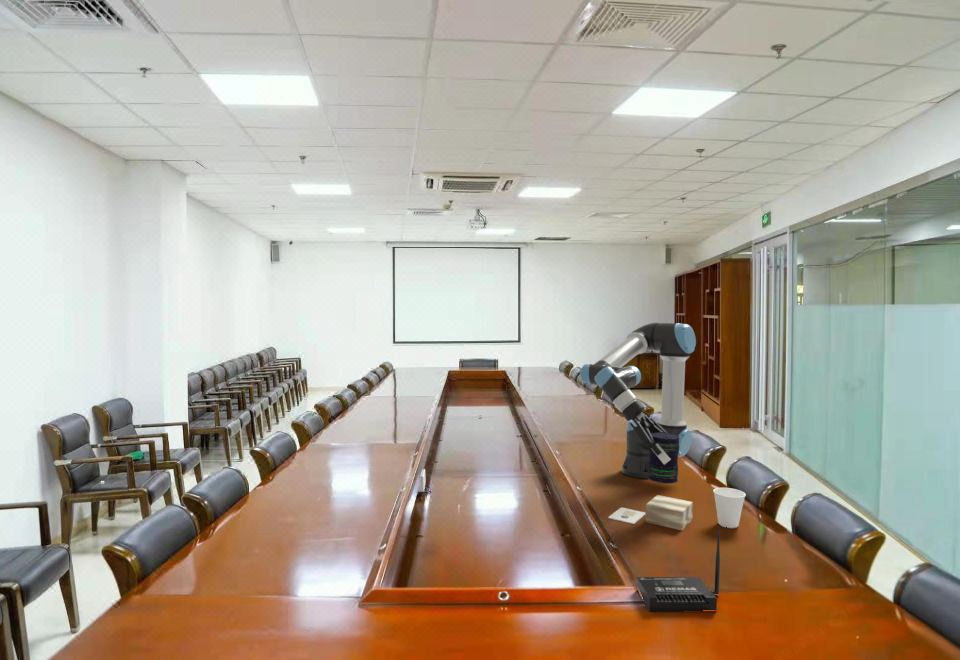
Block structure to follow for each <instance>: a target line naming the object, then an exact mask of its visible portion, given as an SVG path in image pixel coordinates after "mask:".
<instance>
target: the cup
mask: <svg viewBox="0 0 960 660" xmlns="http://www.w3.org/2000/svg"><path fill="white" fill-rule="evenodd" d="M712 492H713V494H714V503H715V508H716V516H717V523H718V524H719V526H721V527H723V528H726V527H727V528H726V529H736V528H738V527H739V525H740V519H741V517H742V510H743V505H744V502H745V499H746V498H745V497H747V495H746V493H745V492H744V491H742V490H739V489H737V488H730V487H716V488H714V489H713V490H712Z"/></svg>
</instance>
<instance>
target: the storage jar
mask: <svg viewBox="0 0 960 660" xmlns="http://www.w3.org/2000/svg"><path fill="white" fill-rule="evenodd" d="M651 435H652V437H653V439H654V441H655V443H656V444H657V443H658V444H659V446H660V447H661V448H662V449H663V450H664V452H665V453H666V454H667V455H668V456H669V458H670V459H671V460H670V461H668V462H667V463H666V464H665V465H664V464H663V463H662V461H661V460H660V459H659V458H658V457H657V455H656V454H655V453H654V452H653V450H652V449H651V448H650V449H649V451H650V453H649V462H648V478H647V479H648V480H649V481H651V482H654V483H659V484H664V485H665V484H666V485H668V484H676V483H677V482H678V481H679V479H678V477H679V457H678V453H679V435H676V434H673V433H666V432H652V433H651ZM656 444H655V445H656Z"/></svg>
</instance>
